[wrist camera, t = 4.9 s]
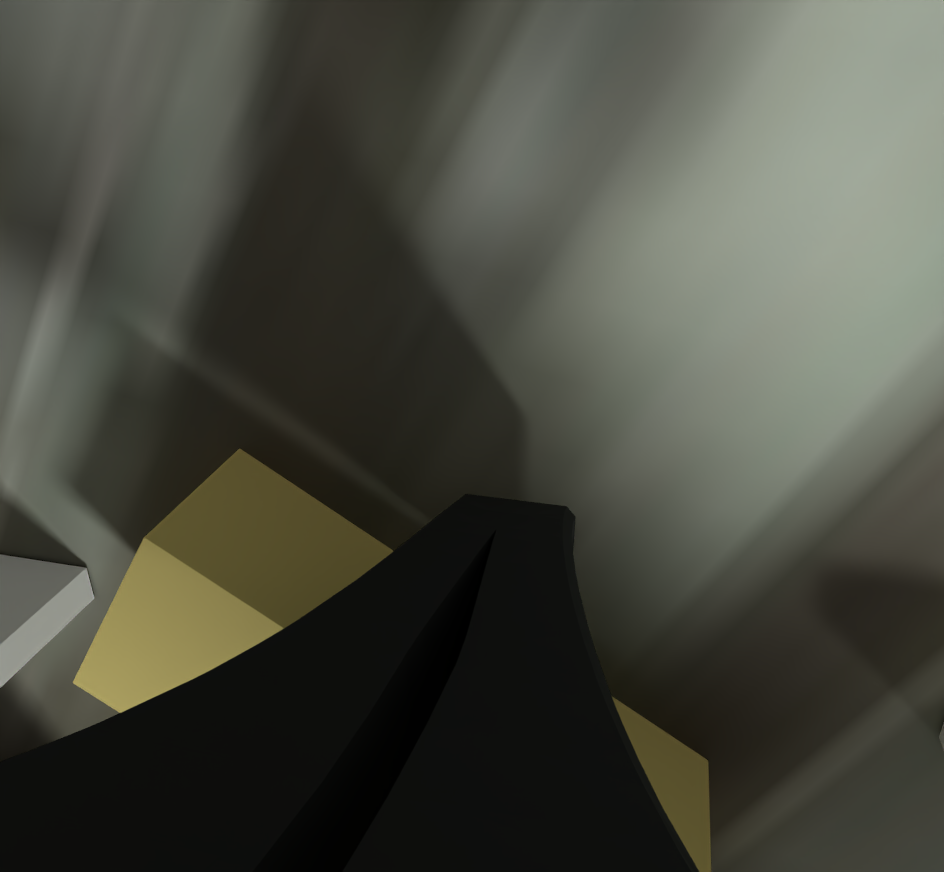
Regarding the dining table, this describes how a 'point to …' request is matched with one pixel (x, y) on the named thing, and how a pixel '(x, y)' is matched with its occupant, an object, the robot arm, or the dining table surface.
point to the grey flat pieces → (45, 608)
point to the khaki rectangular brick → (286, 610)
